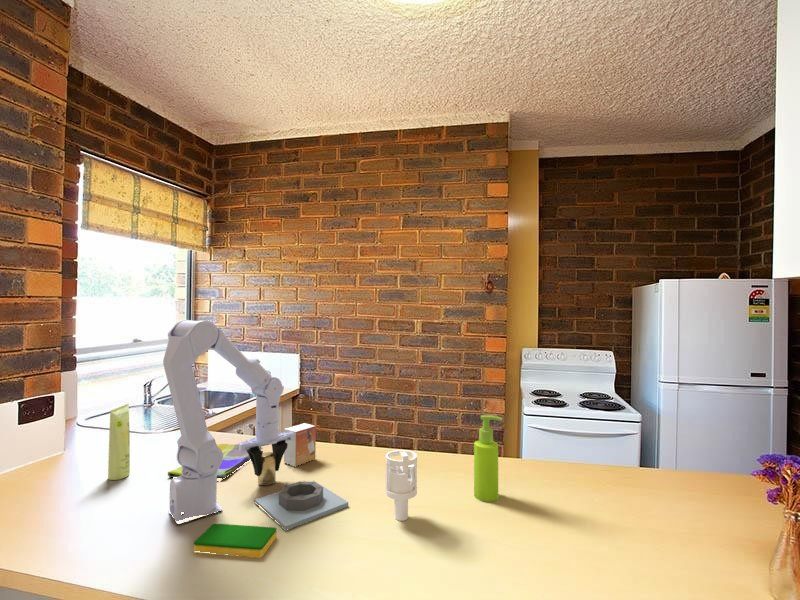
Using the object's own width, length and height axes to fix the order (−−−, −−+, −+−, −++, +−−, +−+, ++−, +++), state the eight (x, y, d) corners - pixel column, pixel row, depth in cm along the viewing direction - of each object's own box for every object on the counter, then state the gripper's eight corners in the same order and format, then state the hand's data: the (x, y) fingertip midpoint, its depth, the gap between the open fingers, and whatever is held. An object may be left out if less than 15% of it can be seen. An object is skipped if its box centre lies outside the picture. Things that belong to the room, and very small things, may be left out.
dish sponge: (213, 534, 85) (213, 522, 85) (277, 539, 84) (277, 527, 84) (192, 555, 78) (192, 542, 78) (261, 560, 77) (261, 547, 77)
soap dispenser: (503, 503, 98) (503, 420, 99) (474, 500, 100) (473, 418, 100) (502, 492, 104) (501, 413, 104) (474, 490, 105) (474, 412, 106)
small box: (295, 467, 120) (295, 431, 120) (283, 463, 123) (283, 428, 123) (316, 459, 126) (316, 425, 126) (304, 455, 129) (304, 422, 130)
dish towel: (163, 480, 112) (163, 470, 112) (215, 449, 136) (215, 441, 136) (223, 484, 110) (223, 474, 110) (265, 452, 134) (265, 443, 134)
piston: (262, 486, 106) (262, 459, 106) (255, 481, 109) (255, 454, 109) (278, 481, 109) (278, 455, 109) (271, 476, 112) (271, 450, 112)
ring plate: (285, 531, 86) (285, 514, 86) (254, 503, 98) (254, 488, 98) (348, 506, 97) (348, 491, 97) (313, 484, 108) (313, 471, 109)
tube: (132, 477, 112) (132, 406, 113) (109, 483, 109) (110, 409, 109) (127, 471, 117) (128, 403, 117) (106, 476, 113) (106, 405, 113)
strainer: (389, 527, 87) (389, 457, 88) (382, 511, 94) (382, 446, 94) (421, 523, 89) (421, 454, 89) (411, 507, 96) (411, 443, 96)
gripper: (246, 429, 102) (245, 484, 101) (299, 419, 111) (298, 469, 111) (235, 423, 107) (235, 476, 107) (287, 414, 117) (286, 462, 116)
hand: (266, 472), depth 109 cm, fingers closed on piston, 4 cm apart
